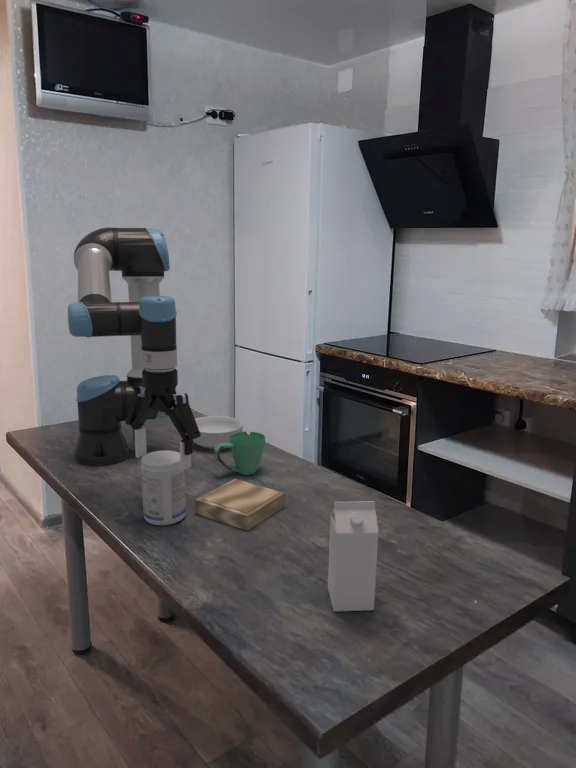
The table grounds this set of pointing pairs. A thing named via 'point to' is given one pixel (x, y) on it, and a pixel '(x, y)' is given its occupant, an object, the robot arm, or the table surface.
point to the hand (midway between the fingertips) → (162, 461)
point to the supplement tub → (163, 488)
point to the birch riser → (240, 504)
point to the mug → (243, 452)
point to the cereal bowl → (216, 430)
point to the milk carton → (353, 556)
